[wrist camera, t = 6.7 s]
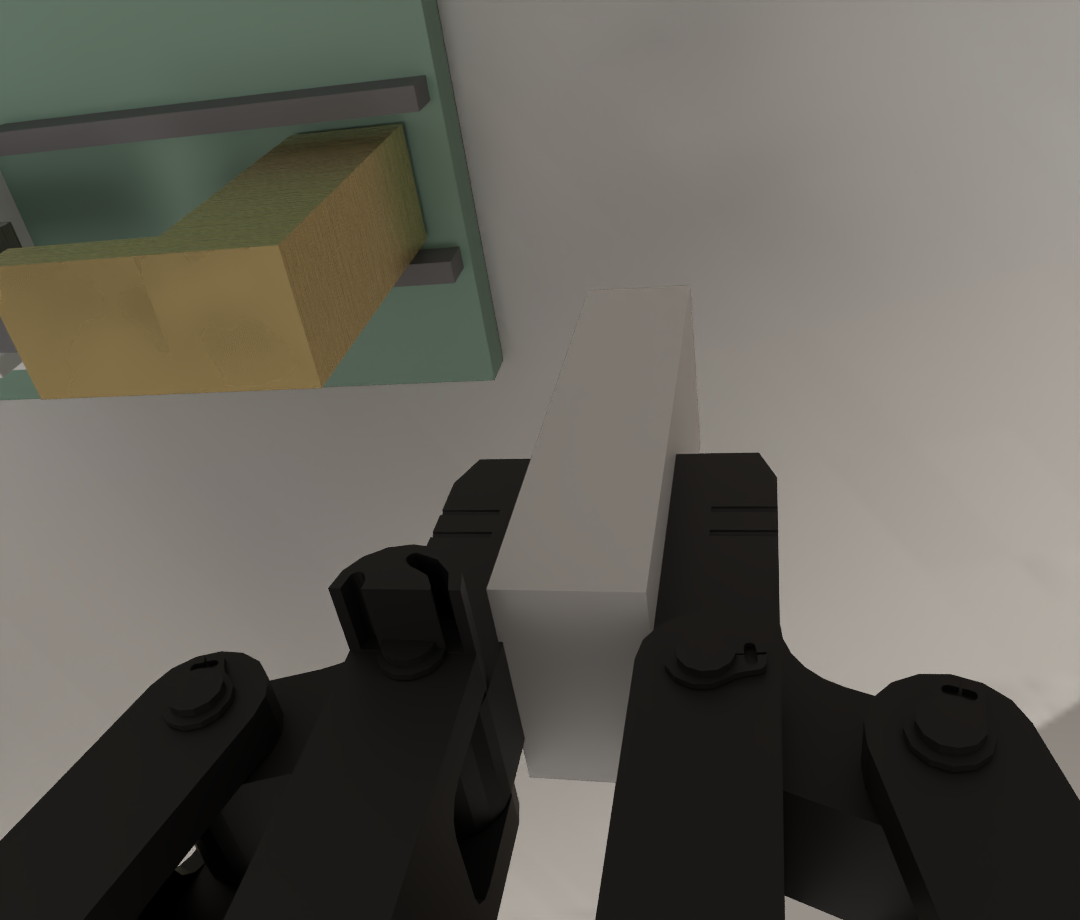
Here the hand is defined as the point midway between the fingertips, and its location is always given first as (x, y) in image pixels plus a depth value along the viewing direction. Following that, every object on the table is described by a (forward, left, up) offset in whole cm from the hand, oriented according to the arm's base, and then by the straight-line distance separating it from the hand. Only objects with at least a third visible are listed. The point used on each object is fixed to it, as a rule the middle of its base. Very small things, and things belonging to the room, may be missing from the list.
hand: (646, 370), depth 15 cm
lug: (-10, 0, -10) cm, 14 cm away
